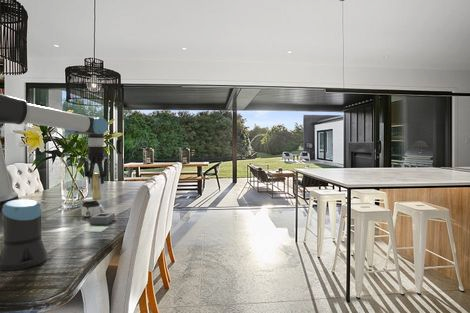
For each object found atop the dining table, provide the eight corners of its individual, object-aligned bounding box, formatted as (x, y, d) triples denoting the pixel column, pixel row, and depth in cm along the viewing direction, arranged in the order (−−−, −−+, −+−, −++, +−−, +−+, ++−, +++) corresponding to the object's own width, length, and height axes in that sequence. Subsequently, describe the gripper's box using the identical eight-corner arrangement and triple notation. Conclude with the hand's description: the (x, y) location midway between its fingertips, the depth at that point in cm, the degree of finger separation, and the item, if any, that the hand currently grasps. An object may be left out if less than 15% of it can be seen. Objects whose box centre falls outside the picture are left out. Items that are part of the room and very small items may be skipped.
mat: (101, 232, 146) (101, 231, 146) (84, 231, 146) (84, 231, 146) (109, 227, 155) (109, 226, 155) (92, 226, 155) (92, 226, 155)
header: (107, 224, 161) (107, 217, 160) (89, 224, 161) (89, 217, 160) (114, 219, 171) (114, 213, 170) (98, 219, 171) (98, 213, 170)
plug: (98, 200, 148) (98, 173, 148) (90, 200, 148) (90, 173, 148) (102, 198, 152) (101, 173, 152) (94, 198, 152) (94, 173, 152)
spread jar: (79, 217, 175) (79, 199, 175) (92, 213, 186) (92, 195, 186) (95, 218, 173) (95, 200, 172) (108, 214, 184) (108, 196, 183)
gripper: (115, 146, 153) (115, 189, 154) (83, 146, 153) (84, 188, 154) (109, 146, 145) (109, 191, 146) (76, 146, 145) (76, 190, 146)
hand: (96, 189), depth 150 cm, fingers closed on plug, 4 cm apart
